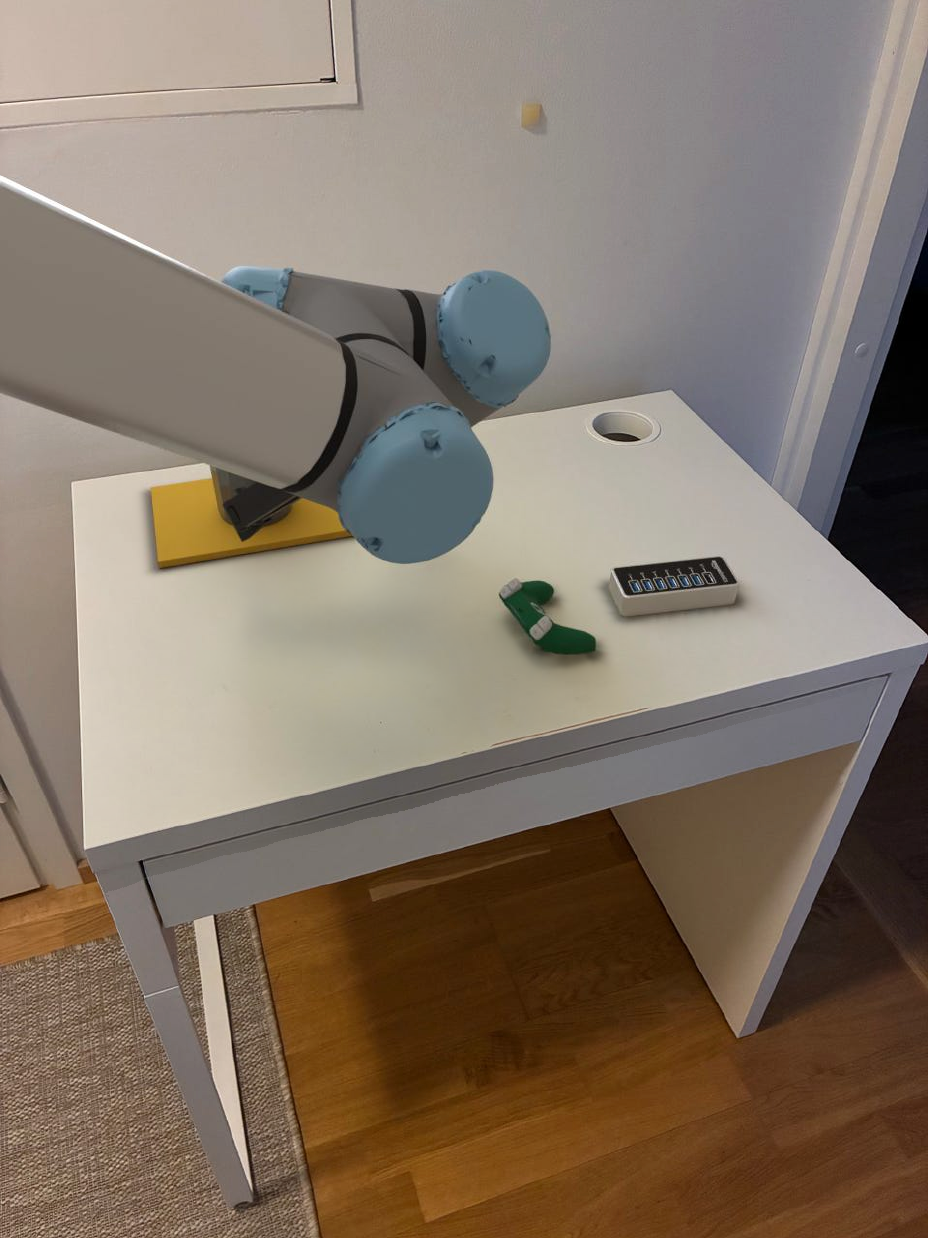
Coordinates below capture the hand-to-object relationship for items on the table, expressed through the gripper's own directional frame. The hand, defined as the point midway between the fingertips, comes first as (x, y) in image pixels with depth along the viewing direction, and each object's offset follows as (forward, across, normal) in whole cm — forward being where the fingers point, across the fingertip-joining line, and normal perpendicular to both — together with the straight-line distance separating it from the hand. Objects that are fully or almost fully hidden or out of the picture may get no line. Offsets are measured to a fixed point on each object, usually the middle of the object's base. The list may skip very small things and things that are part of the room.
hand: (302, 497), depth 88 cm
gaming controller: (-11, +9, -21) cm, 25 cm away
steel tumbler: (+11, 0, +2) cm, 11 cm away
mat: (+12, 0, +2) cm, 12 cm away
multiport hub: (-14, +22, -24) cm, 35 cm away
